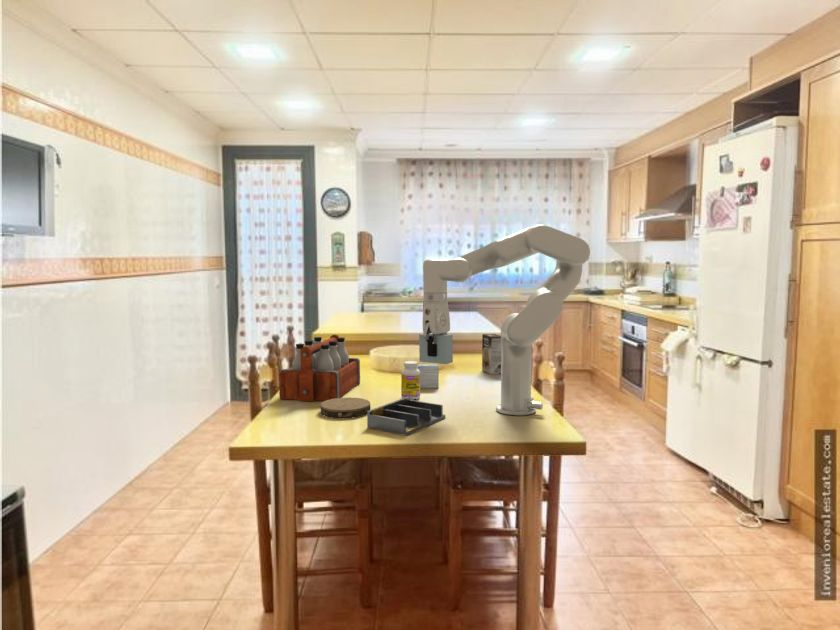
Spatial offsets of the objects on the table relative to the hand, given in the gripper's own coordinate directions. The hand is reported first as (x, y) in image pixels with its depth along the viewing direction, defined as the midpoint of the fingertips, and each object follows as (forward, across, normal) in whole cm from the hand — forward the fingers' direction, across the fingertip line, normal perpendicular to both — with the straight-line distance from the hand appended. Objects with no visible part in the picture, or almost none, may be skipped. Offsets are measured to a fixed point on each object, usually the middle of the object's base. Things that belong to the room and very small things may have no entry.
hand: (436, 354), depth 186 cm
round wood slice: (+19, -16, +24) cm, 35 cm away
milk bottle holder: (+18, +1, +50) cm, 54 cm away
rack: (+18, -16, 0) cm, 25 cm away
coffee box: (+19, +68, +12) cm, 71 cm away
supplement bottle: (+19, +10, +16) cm, 27 cm away
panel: (+2, 0, 0) cm, 2 cm away
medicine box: (+19, +28, +20) cm, 39 cm away
